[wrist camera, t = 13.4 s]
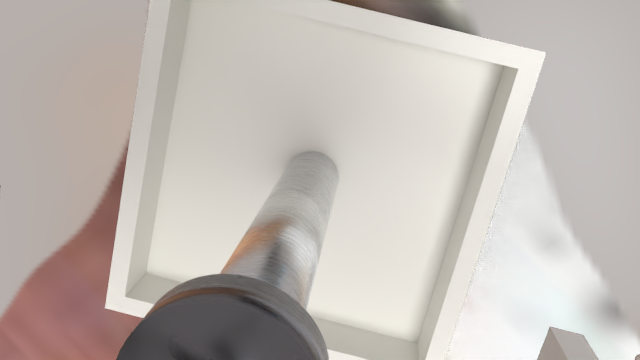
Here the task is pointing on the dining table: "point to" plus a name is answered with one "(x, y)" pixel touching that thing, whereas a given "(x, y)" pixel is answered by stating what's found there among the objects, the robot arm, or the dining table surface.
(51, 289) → the dining table surface
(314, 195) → the steel pin
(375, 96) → the tray
